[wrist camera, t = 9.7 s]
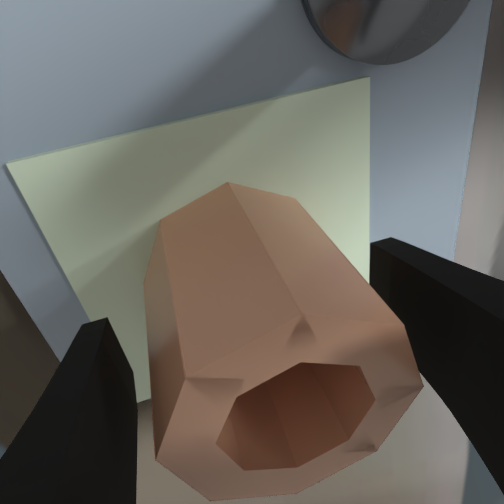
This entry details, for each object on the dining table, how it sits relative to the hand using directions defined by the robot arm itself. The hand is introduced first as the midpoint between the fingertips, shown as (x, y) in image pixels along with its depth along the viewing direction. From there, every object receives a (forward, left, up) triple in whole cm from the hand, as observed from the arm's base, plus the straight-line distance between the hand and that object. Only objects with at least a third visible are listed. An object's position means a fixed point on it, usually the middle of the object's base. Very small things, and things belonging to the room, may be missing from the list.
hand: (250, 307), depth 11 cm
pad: (0, 0, -3) cm, 3 cm away
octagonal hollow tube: (0, 0, -2) cm, 2 cm away
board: (+10, -7, -3) cm, 12 cm away
